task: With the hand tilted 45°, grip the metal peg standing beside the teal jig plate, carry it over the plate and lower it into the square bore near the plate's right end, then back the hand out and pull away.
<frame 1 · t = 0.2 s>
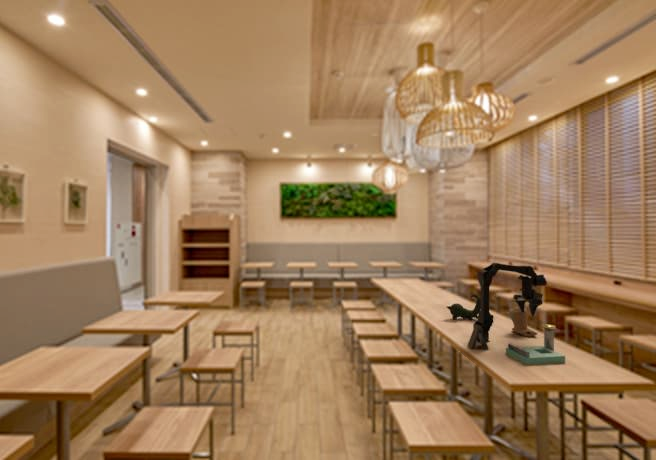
hand: (527, 314, 221), 14 cm above the table, tool pointing down, fingers open, 9 cm apart
toy figurine: (464, 319, 270), on the table
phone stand: (477, 348, 205), on the table
jig: (534, 357, 189), on the table
metal peg: (549, 350, 200), on the table
tan boot: (521, 334, 232), on the table
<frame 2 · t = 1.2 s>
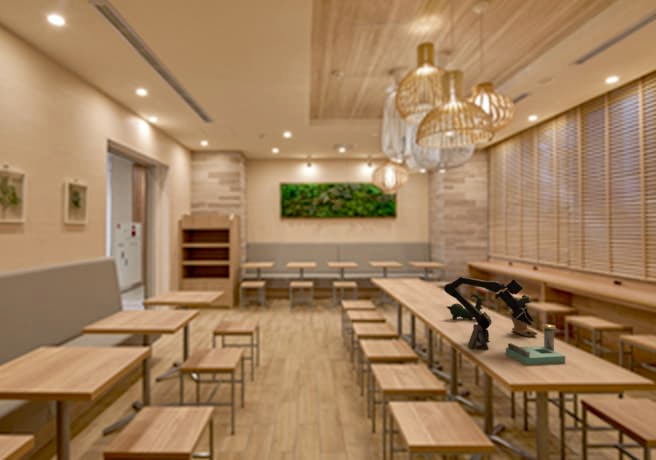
hand: (532, 322, 204), 13 cm above the table, tool tilted 45°, fingers open, 9 cm apart
nothing on the table moved.
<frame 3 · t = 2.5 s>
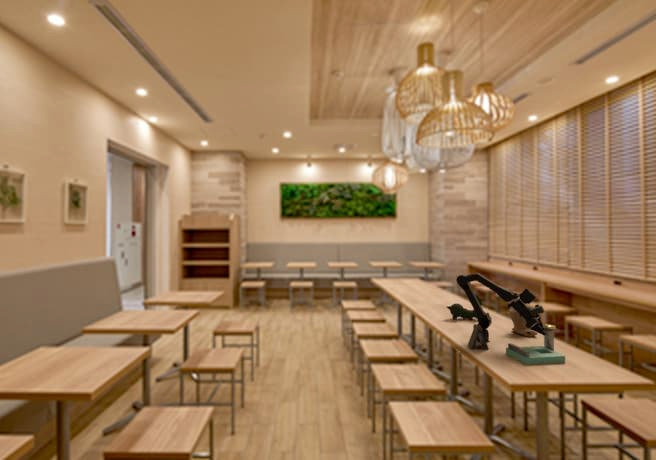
hand: (545, 333, 201), 9 cm above the table, tool tilted 45°, fingers open, 9 cm apart
nothing on the table moved.
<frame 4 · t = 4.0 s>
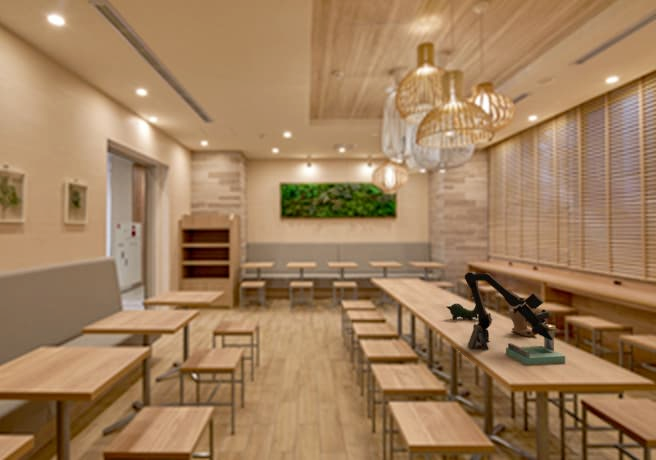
hand: (552, 338, 199), 7 cm above the table, tool tilted 45°, fingers closed on metal peg, 5 cm apart
metal peg: (549, 350, 200), on the table, touching gripper
everything else where it was.
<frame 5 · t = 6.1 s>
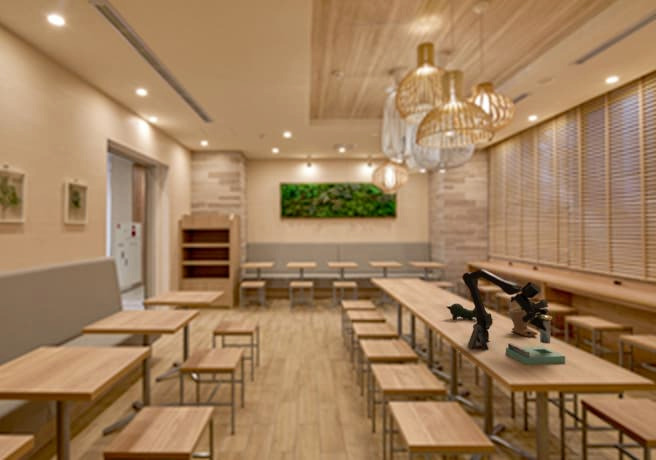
hand: (548, 329, 190), 13 cm above the table, tool tilted 45°, fingers closed on metal peg, 5 cm apart
metal peg: (545, 342, 191), point 7 cm above the table, touching gripper
everything else where it was.
when the fingers open (8 cm above the table, at t = 8.5 s): metal peg drops 1 cm, resting in jig.
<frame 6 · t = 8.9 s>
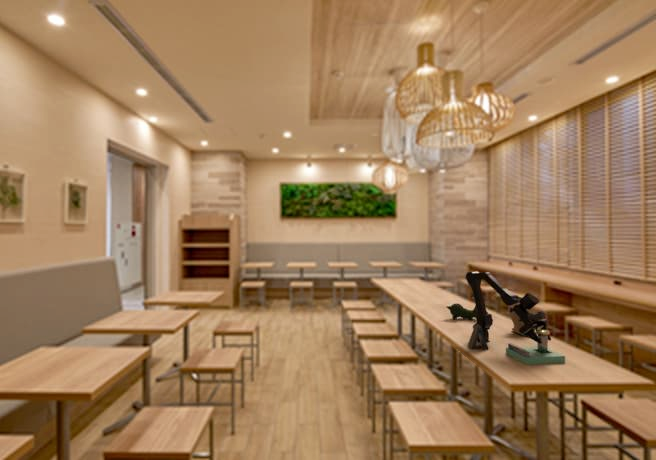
hand: (545, 341, 188), 8 cm above the table, tool tilted 45°, fingers open, 9 cm apart
metal peg: (542, 357, 190), resting in jig
everything else where it was.
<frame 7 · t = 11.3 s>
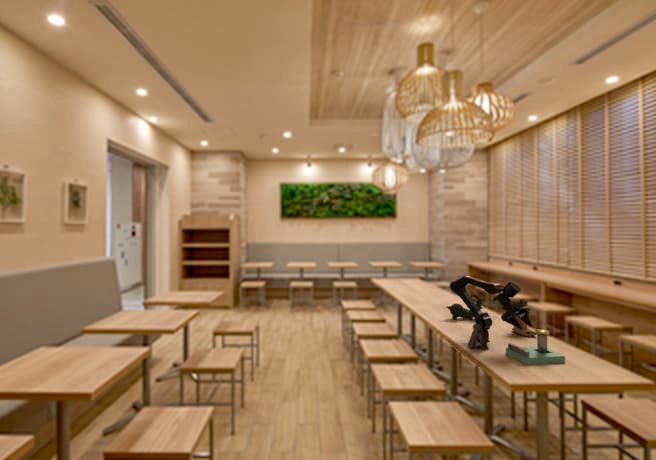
hand: (527, 328, 196), 13 cm above the table, tool tilted 45°, fingers open, 9 cm apart
nothing on the table moved.
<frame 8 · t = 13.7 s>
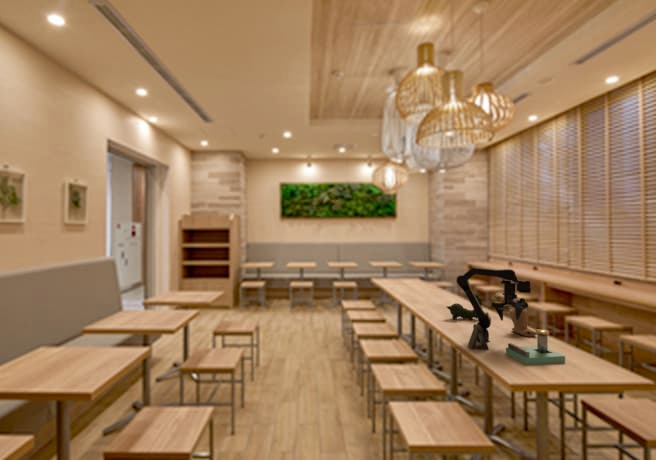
hand: (509, 320, 212), 13 cm above the table, tool pointing down, fingers open, 9 cm apart
nothing on the table moved.
at the end: metal peg 0.2 cm from the target spot, resting in jig; metal peg tilted 0°; the gripper is holding nothing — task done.
